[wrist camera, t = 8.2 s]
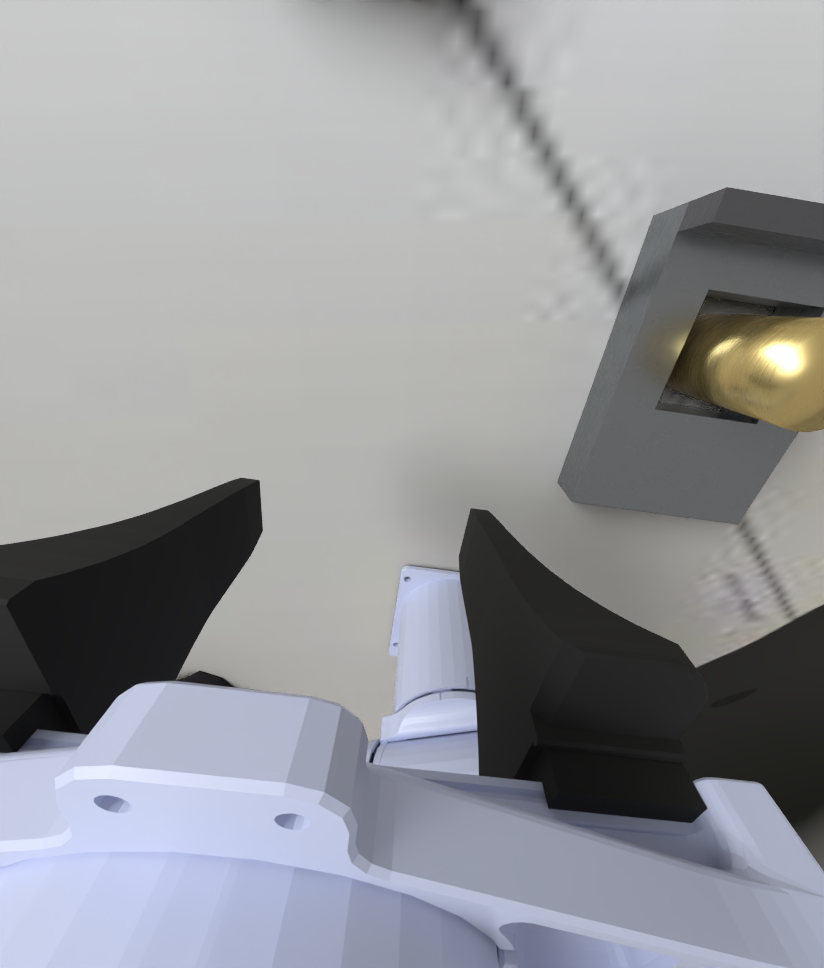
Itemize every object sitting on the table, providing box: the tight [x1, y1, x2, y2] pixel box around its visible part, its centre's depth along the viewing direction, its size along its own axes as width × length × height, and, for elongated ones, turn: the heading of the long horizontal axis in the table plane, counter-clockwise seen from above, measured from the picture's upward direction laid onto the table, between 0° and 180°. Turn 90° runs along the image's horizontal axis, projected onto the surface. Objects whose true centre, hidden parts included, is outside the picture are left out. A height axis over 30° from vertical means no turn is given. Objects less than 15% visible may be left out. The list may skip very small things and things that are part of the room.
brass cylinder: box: [666, 314, 824, 432], centre depth 16 cm, size 4×4×7 cm
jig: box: [557, 187, 824, 524], centre depth 18 cm, size 14×10×4 cm
